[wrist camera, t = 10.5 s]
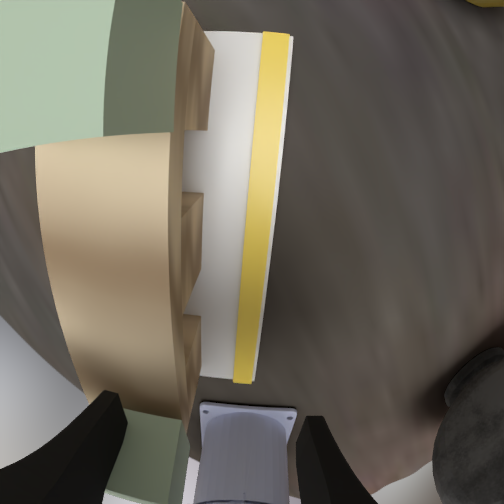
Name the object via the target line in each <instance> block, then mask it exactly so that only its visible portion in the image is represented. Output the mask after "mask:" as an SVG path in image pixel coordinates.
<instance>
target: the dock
mask: <svg viewBox="0 0 504 504" xmlns="http://www.w3.org/2000/svg"><path fill="white" fill-rule="evenodd" d="M204 33H205V35H206V36H207V38H208V40H209V41H210V43H211V45H212V46H213V48H214V50H215V54H214V64H213V74H212V84H211V95H210V106H209V118H208V131H201V130H185V132H184V149H183V169H182V192H197V193H204V200H203V225H202V262H201V271H200V273H199V276H198V278H197V281H196V283H195V286H194V288H193V290H192V293H191V295H190V298H189V300H188V303H187V306H186V308H185V311H184V313H183V314H188V315H197V316H201V359H202V367H201V371H200V376H208V377H216V378H225V379H233V383H245V384H251V382H252V381H255V374H256V366H257V359H258V352H259V345H260V337H261V330H262V322H263V314H264V307H265V299H266V291H267V283H268V275H269V267H270V259H271V250H272V242H273V234H274V225H275V216H276V208H277V199H278V190H279V181H280V172H281V162H282V153H283V143H284V133H285V123H286V113H287V103H288V92H289V82H290V71H291V59H292V48H293V36H290V34H284V33H275V32H264V31H263V33H251V32H228V31H204Z"/></svg>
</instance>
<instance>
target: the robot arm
mask: <svg viewBox="0 0 504 504" xmlns="http://www.w3.org/2000/svg"><path fill="white" fill-rule="evenodd" d="M296 416H297V410H296V409H294V408H272V407H255V406H242V405H231V404H221V403H212V402H202V403H201V404H200V422H201V438H202V453H201V459H200V465H199V472H198V477H197V484H196V490H195V496H194V503H193V504H289V483H288V463H287V442H288V439H289V437H290V434H291V431H292V428H293V425H294V422H295V419H296ZM127 425H128V421H127V418H126V415H125V412H124V409H123V406H122V403H121V400H120V397H119V394H118V393H115V392H111V391H108V390H104V391H102V392H101V393H100V394H99V395H98V396H97V397H96V399H95V400H94V401H93V402H92V403H91V404H90V405H89V406H88V407H87V408H86V409H85V410H84V411H83V412H82V413H81V414H80V415H79V416H78V417H76V418H75V419H74V420H73V421H72V422H71V423H70V424H69V425H68V426H67V427H66V428H65V429H64V430H62V431H61V432H60V433H59V434H58V435H56V436H55V437H54V438H53V439H52V440H50V441H49V442H48V443H46V444H45V445H43V446H42V447H41V448H39V449H38V450H36V451H35V452H33V453H31V454H30V455H28V456H26V457H25V458H23V459H21V460H19V461H17V462H15V463H13V464H11V465H9V466H6V467H4V468H2V469H0V504H102V501H103V496H104V492H105V489H106V486H107V483H108V480H109V478H110V475H111V472H112V470H113V467H114V465H115V462H116V460H117V457H118V455H119V452H120V449H121V447H122V444H123V441H124V437H125V433H126V429H127ZM296 468H297V476H298V483H299V491H300V498H301V504H378V503H377V502H376V501H375V500H374V499H373V497H372V496H371V495H370V494H369V493H368V491H367V490H366V489H365V488H364V486H363V485H362V484H361V482H360V481H359V479H358V478H357V477H356V475H355V474H354V472H353V471H352V469H351V468H350V466H349V464H348V463H347V461H346V459H345V458H344V456H343V454H342V453H341V451H340V449H339V447H338V445H337V444H336V442H335V440H334V438H333V436H332V434H331V432H330V430H329V428H328V425H327V423H326V421H325V419H324V417H323V416H306V418H305V421H304V424H303V426H302V429H301V432H300V434H299V437H298V439H297V442H296Z"/></svg>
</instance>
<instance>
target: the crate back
mask: <svg viewBox="0 0 504 504" xmlns="http://www.w3.org/2000/svg"><path fill="white" fill-rule="evenodd" d="M123 409H124V408H123ZM124 412H125V415H126V418H127V421H128V425H127V429H126V433H125V437H124V441H123V444H122V447H121V449H120V452H119V455H118V457H117V460H116V462H115V465H114V467H113V470H112V472H111V475H110V478H109V480H108V483H107V486H106V489H105V492H104V493H107V494H110V495H113V496H116V497H119V498H123V499H126V500H130V501H133V502H137V503H141V504H182V499H183V492H184V485H185V477H186V471H187V464H188V458H189V451H190V444H189V441H188V438H187V435H186V432H185V429H184V426H183V423H182V420H178V419H172V418H166V417H161V416H156V415H151V414H146V413H142V412H137V411H133V410H129V409H124Z"/></svg>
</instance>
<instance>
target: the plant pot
mask: <svg viewBox="0 0 504 504" xmlns="http://www.w3.org/2000/svg"><path fill="white" fill-rule="evenodd" d="M466 1H468V2H470V3H472V4H474V5H477V6H480V7H504V0H466Z"/></svg>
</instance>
